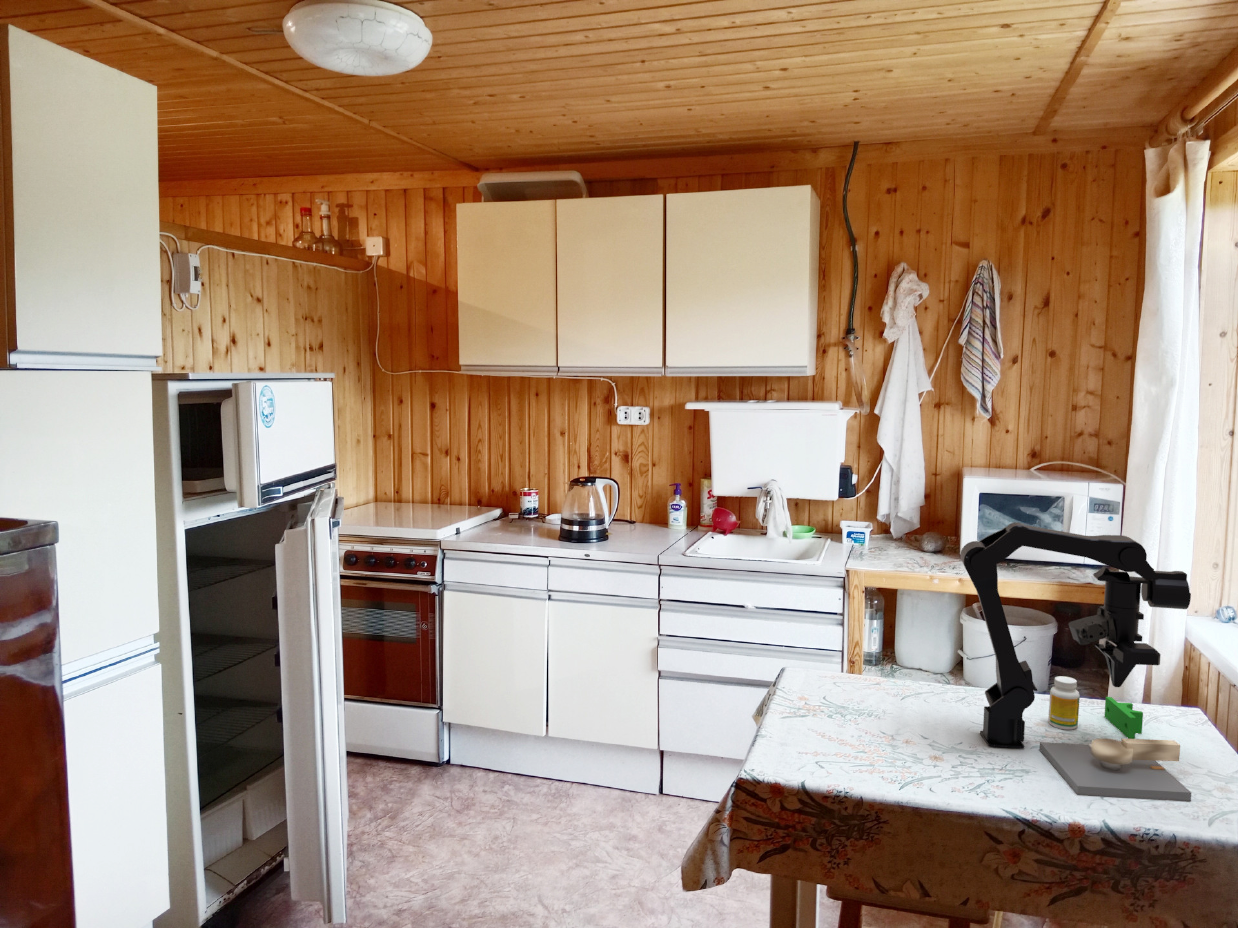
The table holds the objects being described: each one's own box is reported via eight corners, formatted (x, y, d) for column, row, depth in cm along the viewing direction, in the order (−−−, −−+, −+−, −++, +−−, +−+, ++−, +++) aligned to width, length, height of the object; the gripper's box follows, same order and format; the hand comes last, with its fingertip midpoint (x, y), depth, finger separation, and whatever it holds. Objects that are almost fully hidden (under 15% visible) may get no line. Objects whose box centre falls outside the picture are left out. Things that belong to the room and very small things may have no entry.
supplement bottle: (1045, 718, 181) (1047, 673, 180) (1072, 720, 180) (1075, 675, 179) (1052, 729, 176) (1055, 682, 175) (1081, 731, 175) (1084, 684, 174)
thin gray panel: (1077, 794, 148) (1078, 777, 148) (1039, 749, 166) (1040, 734, 166) (1190, 800, 146) (1192, 783, 146) (1140, 754, 164) (1141, 739, 164)
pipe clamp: (1148, 740, 171) (1150, 718, 170) (1128, 739, 171) (1130, 717, 171) (1123, 718, 182) (1124, 696, 182) (1104, 717, 183) (1105, 696, 182)
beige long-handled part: (1101, 763, 153) (1102, 747, 153) (1084, 748, 159) (1085, 732, 159) (1186, 766, 152) (1187, 750, 152) (1166, 751, 158) (1167, 735, 158)
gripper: (1056, 590, 172) (1052, 668, 174) (1097, 617, 153) (1091, 702, 155) (1116, 592, 171) (1111, 670, 172) (1164, 619, 152) (1158, 706, 154)
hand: (1116, 686), depth 163 cm, fingers closed
